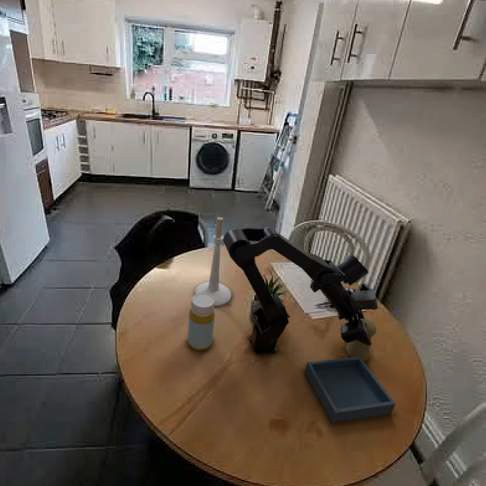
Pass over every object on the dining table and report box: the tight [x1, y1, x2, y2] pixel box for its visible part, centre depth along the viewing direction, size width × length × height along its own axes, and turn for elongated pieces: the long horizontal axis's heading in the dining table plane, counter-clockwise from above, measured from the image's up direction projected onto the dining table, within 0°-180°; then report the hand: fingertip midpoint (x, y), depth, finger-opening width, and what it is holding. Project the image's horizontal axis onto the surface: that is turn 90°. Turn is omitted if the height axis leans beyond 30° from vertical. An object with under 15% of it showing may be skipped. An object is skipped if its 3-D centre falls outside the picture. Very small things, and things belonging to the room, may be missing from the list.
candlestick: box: [194, 216, 232, 307], centre depth 104 cm, size 13×13×30 cm
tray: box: [304, 356, 396, 424], centre depth 77 cm, size 16×14×4 cm
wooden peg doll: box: [345, 318, 377, 362], centre depth 88 cm, size 6×6×11 cm
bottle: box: [187, 293, 216, 351], centre depth 86 cm, size 7×7×15 cm
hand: (368, 336), depth 87 cm, fingers open, 6 cm apart
